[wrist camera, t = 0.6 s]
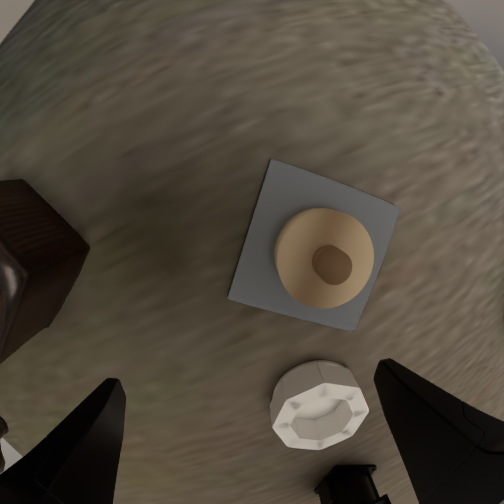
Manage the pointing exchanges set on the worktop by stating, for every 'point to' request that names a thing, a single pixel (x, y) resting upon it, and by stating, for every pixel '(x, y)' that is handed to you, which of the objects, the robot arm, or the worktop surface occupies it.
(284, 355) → the worktop surface
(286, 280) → the lid
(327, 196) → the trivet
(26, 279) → the manual coffee grinder
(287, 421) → the bowl
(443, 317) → the worktop surface
